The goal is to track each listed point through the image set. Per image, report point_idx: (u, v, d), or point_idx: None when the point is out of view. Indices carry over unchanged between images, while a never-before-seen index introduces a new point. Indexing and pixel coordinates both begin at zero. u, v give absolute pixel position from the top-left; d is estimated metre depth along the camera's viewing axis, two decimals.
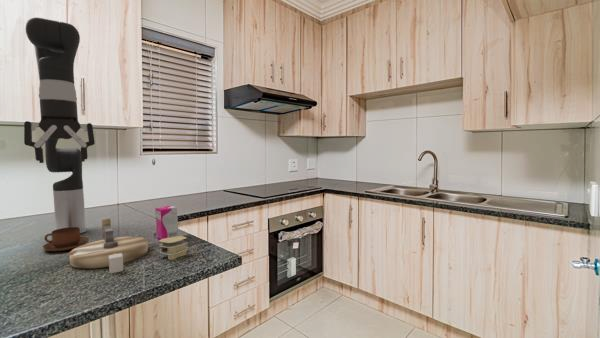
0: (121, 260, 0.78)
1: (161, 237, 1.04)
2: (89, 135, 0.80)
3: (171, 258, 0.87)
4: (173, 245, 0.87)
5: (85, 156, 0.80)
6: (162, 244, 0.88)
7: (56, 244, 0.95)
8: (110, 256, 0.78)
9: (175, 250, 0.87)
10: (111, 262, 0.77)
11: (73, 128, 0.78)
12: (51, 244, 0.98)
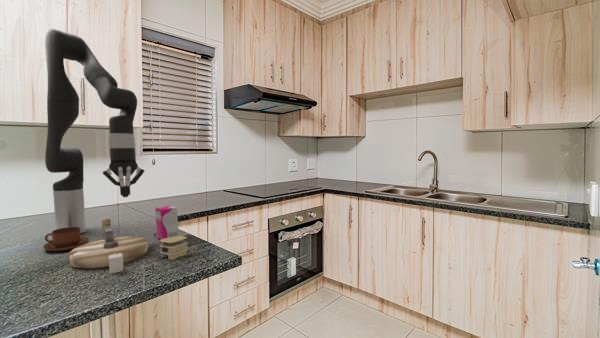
0: (121, 260, 0.78)
1: (161, 237, 1.04)
2: (136, 176, 1.03)
3: (171, 258, 0.87)
4: (173, 245, 0.87)
5: (128, 192, 1.03)
6: (162, 244, 0.88)
7: (56, 244, 0.95)
8: (110, 256, 0.78)
9: (175, 250, 0.87)
10: (111, 262, 0.77)
11: (131, 170, 1.03)
12: (51, 244, 0.99)
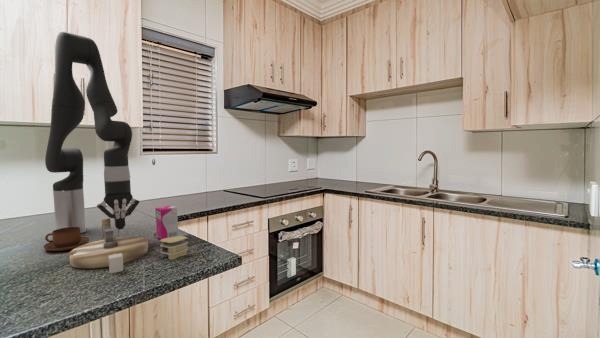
0: (121, 260, 0.78)
1: (161, 237, 1.04)
2: (131, 208, 1.04)
3: (172, 258, 0.87)
4: (174, 245, 0.87)
5: (123, 224, 1.02)
6: (163, 244, 0.89)
7: (57, 244, 0.95)
8: (110, 256, 0.78)
9: (176, 250, 0.87)
10: (111, 262, 0.77)
11: (127, 202, 1.02)
12: (52, 244, 0.99)
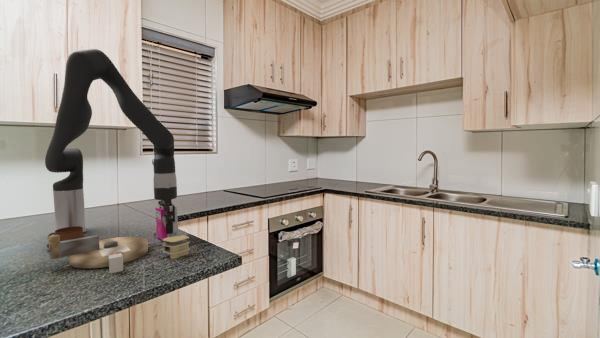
0: (121, 260, 0.78)
1: (161, 237, 1.04)
2: None
3: (173, 257, 0.87)
4: (175, 244, 0.88)
5: None
6: (165, 243, 0.89)
7: None
8: (110, 256, 0.78)
9: (177, 249, 0.88)
10: (111, 262, 0.77)
11: None
12: None
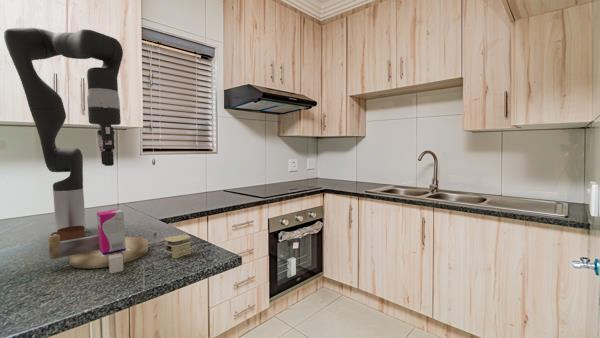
0: (121, 260, 0.78)
1: (101, 249, 0.82)
2: None
3: (174, 257, 0.88)
4: (177, 244, 0.88)
5: None
6: (167, 242, 0.90)
7: None
8: (110, 256, 0.78)
9: (178, 249, 0.88)
10: (111, 262, 0.77)
11: None
12: None
